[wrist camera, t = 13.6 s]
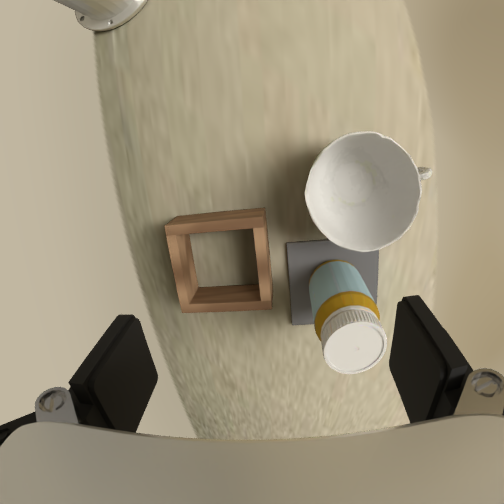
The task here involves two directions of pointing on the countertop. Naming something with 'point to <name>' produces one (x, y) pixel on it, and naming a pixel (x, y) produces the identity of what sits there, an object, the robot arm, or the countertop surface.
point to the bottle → (346, 318)
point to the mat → (313, 255)
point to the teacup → (364, 191)
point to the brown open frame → (219, 296)
